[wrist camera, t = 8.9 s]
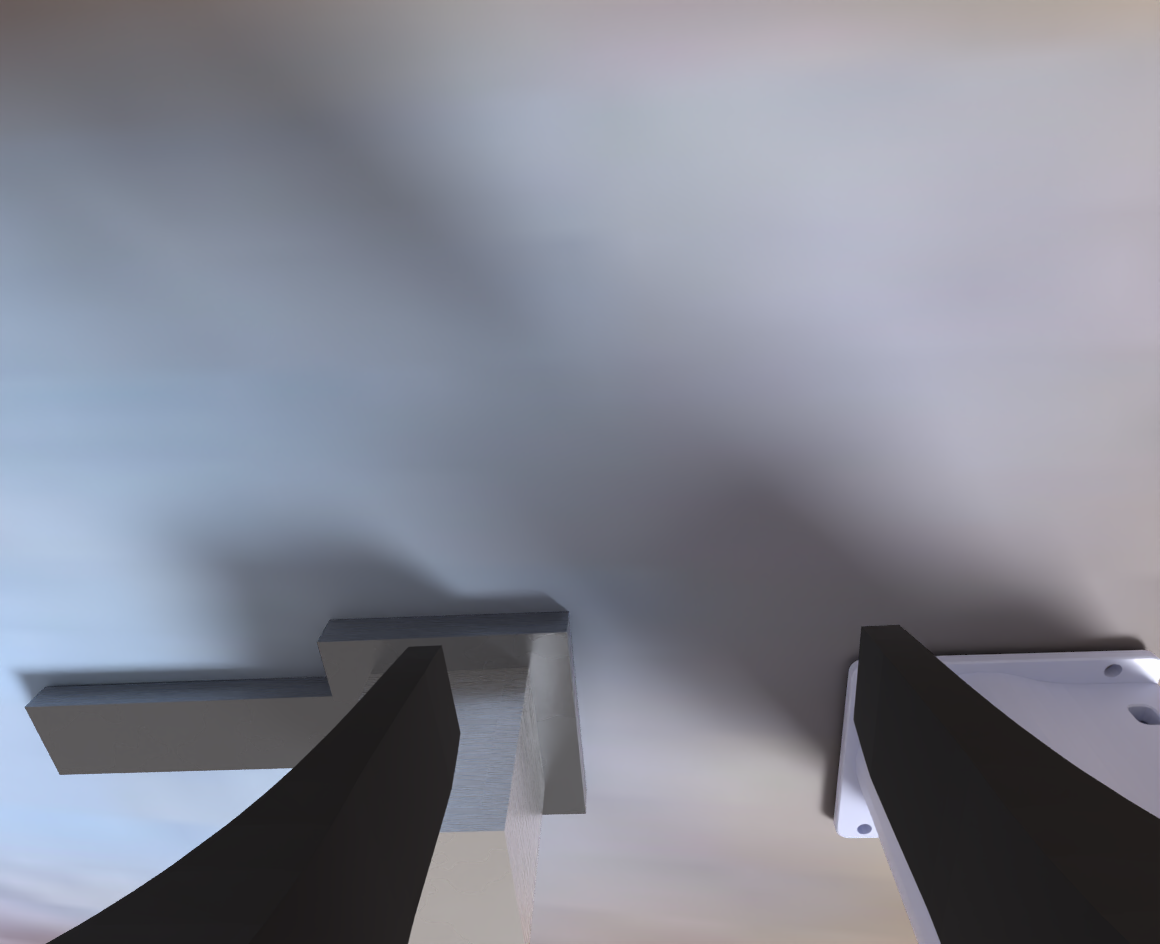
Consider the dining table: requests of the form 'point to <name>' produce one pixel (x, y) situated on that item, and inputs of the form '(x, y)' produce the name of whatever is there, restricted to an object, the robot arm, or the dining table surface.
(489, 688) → the brushed metal cube
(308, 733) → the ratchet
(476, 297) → the dining table surface
